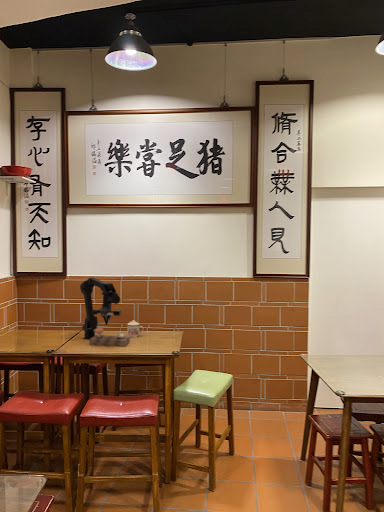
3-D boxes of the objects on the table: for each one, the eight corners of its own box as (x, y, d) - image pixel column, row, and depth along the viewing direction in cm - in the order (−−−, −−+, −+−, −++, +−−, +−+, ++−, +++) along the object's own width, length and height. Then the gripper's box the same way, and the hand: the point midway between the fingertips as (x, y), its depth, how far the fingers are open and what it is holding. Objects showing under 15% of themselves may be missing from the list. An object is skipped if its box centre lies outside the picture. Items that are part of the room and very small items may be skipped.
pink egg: (94, 338, 264) (94, 329, 264) (96, 336, 269) (97, 327, 269) (101, 339, 263) (101, 329, 263) (104, 337, 269) (104, 327, 268)
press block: (89, 345, 261) (89, 339, 261) (96, 340, 273) (96, 334, 273) (124, 346, 258) (125, 340, 258) (129, 342, 270) (129, 336, 270)
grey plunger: (115, 344, 262) (116, 335, 262) (118, 342, 268) (118, 333, 267) (123, 344, 262) (123, 335, 262) (125, 343, 267) (125, 333, 267)
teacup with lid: (126, 337, 283) (127, 321, 282) (127, 334, 292) (127, 319, 291) (143, 337, 285) (143, 321, 284) (143, 334, 294) (143, 319, 293)
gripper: (89, 303, 258) (88, 326, 259) (117, 304, 256) (116, 328, 257) (95, 300, 269) (94, 323, 270) (122, 301, 267) (121, 324, 268)
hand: (106, 324), depth 266 cm, fingers closed
